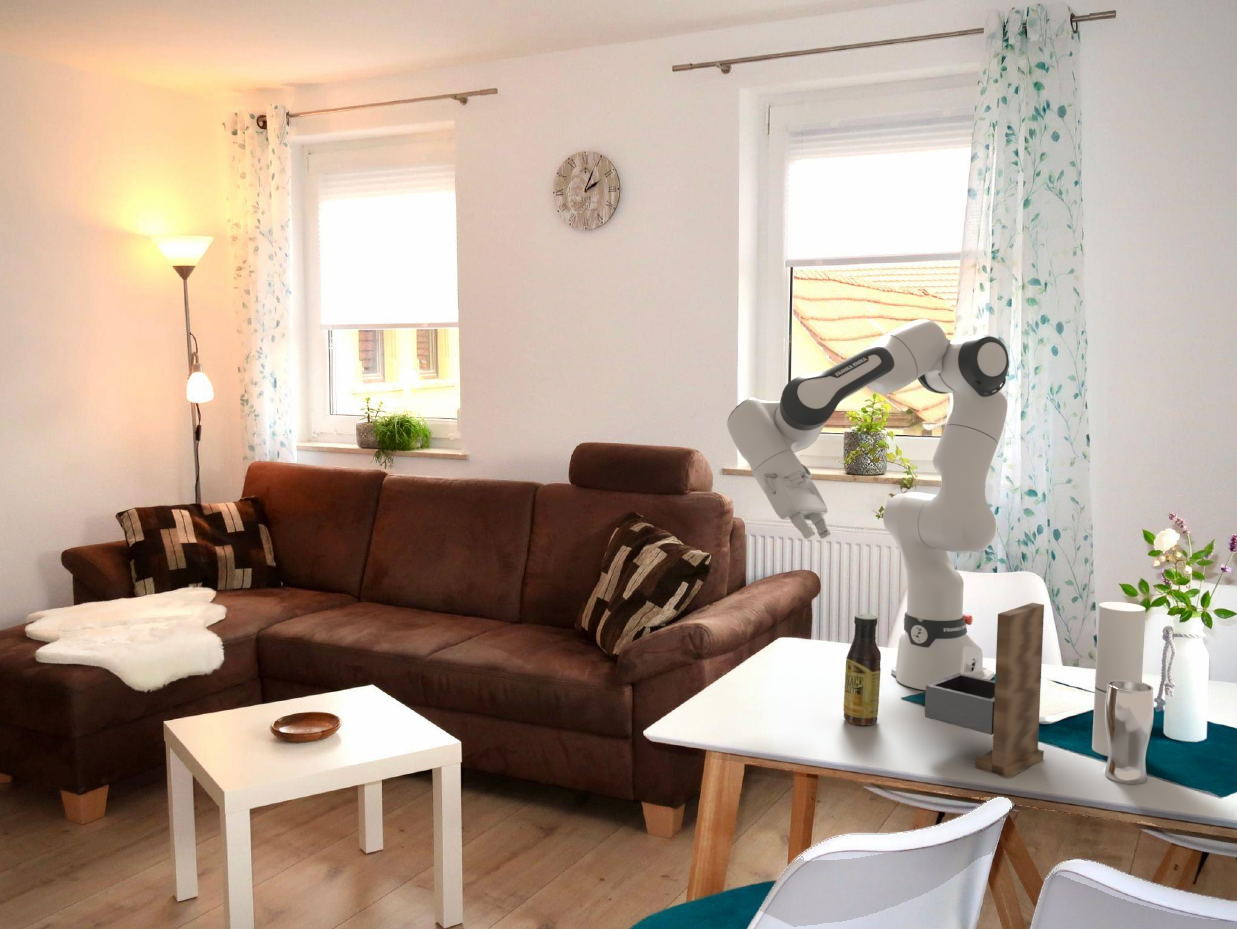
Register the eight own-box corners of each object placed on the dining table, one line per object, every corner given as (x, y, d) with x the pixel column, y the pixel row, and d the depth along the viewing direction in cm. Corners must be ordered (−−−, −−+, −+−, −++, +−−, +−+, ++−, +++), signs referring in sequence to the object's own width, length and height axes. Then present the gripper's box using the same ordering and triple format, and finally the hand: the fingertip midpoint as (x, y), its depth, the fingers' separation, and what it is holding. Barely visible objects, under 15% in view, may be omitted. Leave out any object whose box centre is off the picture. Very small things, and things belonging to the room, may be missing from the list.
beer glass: (1155, 787, 167) (1160, 693, 165) (1107, 783, 168) (1112, 690, 167) (1143, 771, 174) (1147, 680, 172) (1097, 767, 175) (1101, 677, 174)
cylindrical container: (1135, 761, 178) (1143, 613, 176) (1088, 753, 182) (1095, 607, 179) (1140, 748, 184) (1148, 605, 182) (1095, 740, 188) (1102, 600, 185)
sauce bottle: (836, 718, 199) (839, 613, 197) (864, 714, 201) (867, 610, 199) (857, 729, 193) (860, 620, 191) (886, 725, 195) (889, 617, 193)
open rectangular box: (957, 703, 189) (958, 672, 188) (1026, 720, 180) (1027, 688, 179) (924, 717, 181) (925, 685, 181) (994, 735, 172) (995, 702, 172)
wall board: (1008, 750, 183) (1015, 599, 180) (1043, 759, 178) (1050, 605, 176) (974, 767, 175) (980, 610, 172) (1009, 778, 170) (1016, 617, 168)
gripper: (774, 463, 195) (814, 527, 191) (811, 469, 213) (848, 528, 208) (747, 482, 197) (786, 546, 193) (785, 486, 215) (821, 545, 211)
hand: (818, 537), depth 201 cm, fingers open, 8 cm apart
